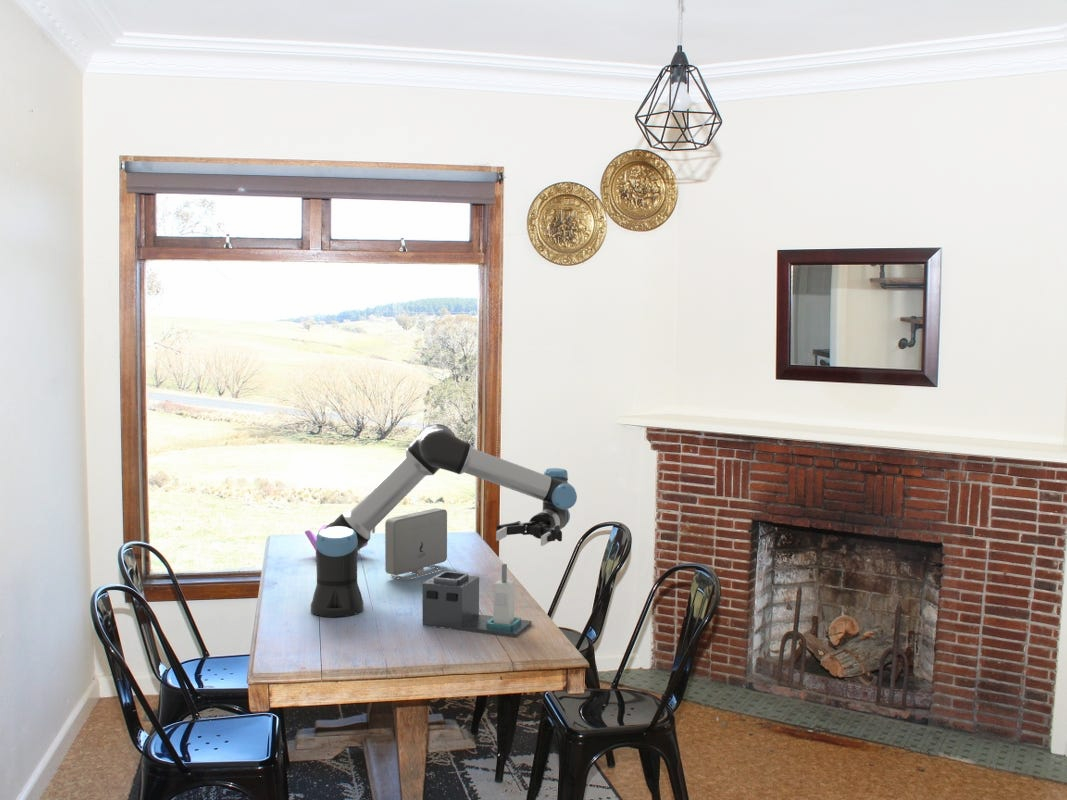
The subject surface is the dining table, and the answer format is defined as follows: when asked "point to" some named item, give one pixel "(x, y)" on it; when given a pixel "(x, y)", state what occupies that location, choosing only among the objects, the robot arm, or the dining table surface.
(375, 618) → the dining table surface
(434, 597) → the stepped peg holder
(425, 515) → the network device
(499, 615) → the plug
